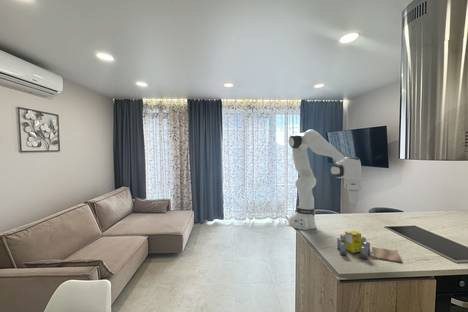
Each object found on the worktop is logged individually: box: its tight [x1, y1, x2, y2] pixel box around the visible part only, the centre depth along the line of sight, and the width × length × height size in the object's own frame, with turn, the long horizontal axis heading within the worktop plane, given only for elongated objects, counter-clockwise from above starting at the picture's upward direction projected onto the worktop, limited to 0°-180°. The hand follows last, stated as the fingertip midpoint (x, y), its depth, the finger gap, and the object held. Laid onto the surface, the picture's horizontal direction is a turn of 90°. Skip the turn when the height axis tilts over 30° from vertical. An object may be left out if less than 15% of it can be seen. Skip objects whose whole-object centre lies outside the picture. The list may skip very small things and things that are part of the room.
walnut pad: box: [371, 246, 403, 264], centre depth 124 cm, size 12×14×1 cm
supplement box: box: [344, 230, 362, 255], centre depth 130 cm, size 6×6×11 cm
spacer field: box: [336, 233, 371, 261], centre depth 130 cm, size 17×18×6 cm
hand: (353, 209), depth 130 cm, fingers open, 8 cm apart
